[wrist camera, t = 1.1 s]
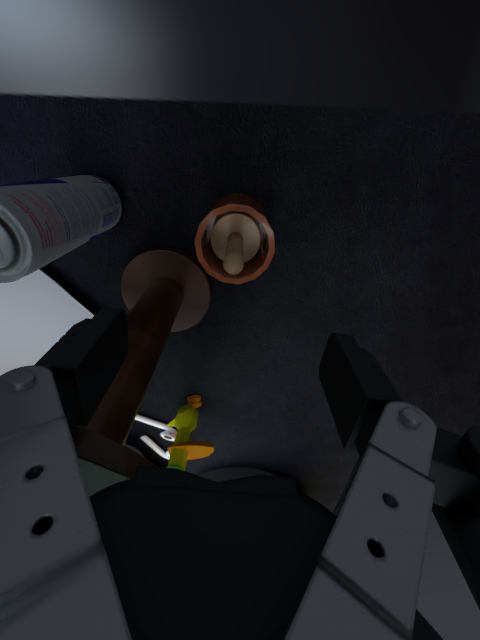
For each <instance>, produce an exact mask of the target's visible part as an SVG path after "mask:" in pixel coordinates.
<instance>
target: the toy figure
mask: <svg viewBox="0 0 480 640" xmlns="http://www.w3.org/2000/svg"><path fill="white" fill-rule="evenodd" d="M187 400H188V401H189V402H188V404H187V405H185V406H183V407H182V408H180V409H179V410H178V412H177V416H176V417H175V418H174V419H173V420H172V421H171V422H170V423H169V424H168V425H167V426H176V428H177V429H178V433H177V436H176V439H175V441H174V444H173V445H171V446H169V447H168V450H169V453H170V459H169V464H168V467H167V468H177V469H180V470H183V471H185V467H186V462H187V460H192V459H198V458H203V457H206V456H209V455H210V454H211V453H213V452H214V446H213V445H212V444H210V443H209V442H208V441H189V440H190V432H191V431H193V430H194V429H196V425H197V421H198V415H199V413H198V412H197V410H196V409H195V408H198V407H199V406H201V405H202V401H200V400H201V396H200V395H192V396H189V397H187ZM194 407H195V408H194Z"/></svg>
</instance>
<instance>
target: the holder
mask: <svg viewBox="0 0 480 640" xmlns="http://www.w3.org/2000/svg"><path fill="white" fill-rule="evenodd" d="M228 211H238V212H246V213H248V214H250V215H251V216H253V217H254V218H256V219H257V220H258V222H259V226H260V236H261V243H260V247H259V250H258V251H257V253H256V255H255V256H254V257H253V258H252V259H250V260H249V261H247V262H245V263H244V267H243V269H242V271H241V272H240V273H238V274H235V275H232V274H229V273H227V272H226V271H225V269H224V266H223V260H221V259H220V258H219V257H218V256H217V255H216V254H215V253H214V251H213V249H212V246H211V241H210V236H211V231H212V227H213V223H214V221H215V218H216V216H217V215H220V214H223V213H226V212H228ZM195 248H196V253H197V259H198V261H199V262H200V263H201V265H202V266H203V268H204V269H205V271H206V272H207V273H208V274H209V275H211V276H213V277H214V278H216V279H218V280H220V281H221V282H225V283H234V284H241V283H244V282H248V281H251V280H254V279H256V278H257V277H258V276H259V275H260V274H262V273H263V272H264V271H265V270H266V269H267V268H268V267H269V264H270V262H271V260H272V257H273V255H274V253H275V240H274V232H273V229H272V227H271V224H270V222H269V219H268V217H267V215H266V213H265V211H264V209H263V208H262V206H261V204H260V203H259V202H257V201H256V200H255V199H254V198H252V197H250V196H249V195H245V194H241V193H232V194H228V195H225V196H223V197H221V198H219V199H217V201H216V202H215V203H214V204H213V205H212V206H211V207H210V208H209V209H208V211H207V213H206V214H205V216H204V217H203V219H202V221H201V222H200V224H199V227H198V230H197V234H196V237H195Z"/></svg>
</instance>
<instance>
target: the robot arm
mask: <svg viewBox="0 0 480 640" xmlns="http://www.w3.org/2000/svg"><path fill="white" fill-rule="evenodd" d="M127 353H128V332H127V320H126V312H125V310H123V309H115V308H106V307H103V308H101V309H100V310H99V311H98V312H97V314H96V315H95V316H94V317H93V318H92V319H85V320H83V321H81V322H79V323H77V324H75V325H73V326H72V327H71V329H70V330H68V332H66V335H64V336H63V337H62V338H61V339H60V340H59V342H57V343H56V344H55V345H54V346H53V347H52V348H51V349H50V350H49V351H48V352H47V353H46V354H45V355H44V356H43V357H42V358H41V359H40V360H39V361H38V362H37V363H36V364H35V365H34V366H24V367H20V368H17V369H14V370H11V371H9V372H7V373H5V374H3V375H1V376H0V640H443V639H442V638H441V636H440V635H439V634H438V633H437V632H436V631H435V630H434V628H433V627H432V626H431V625H430V624H429V623H428V621H427V620H426V619H425V618H424V617H423V616H422V615H421V613H420V612H419V611H418V610H417V609H416V605H417V599H418V593H419V587H420V581H421V574H422V567H423V561H424V555H425V548H426V543H427V536H428V530H429V524H430V517H431V511H432V512H433V514H434V516H435V518H436V520H437V522H438V524H439V526H440V528H441V530H442V532H443V535H444V537H445V539H446V541H447V543H448V545H449V547H450V549H451V551H452V553H453V555H454V557H455V559H456V562H457V564H458V566H459V568H460V570H461V572H462V574H463V576H464V578H465V580H466V582H467V584H468V587H469V589H470V591H471V593H472V595H473V597H474V599H475V601H476V603H477V605H478V607H479V609H480V426H474V427H470V428H469V429H468V430H467V432H466V433H465V434H464V436H460V435H457V434H454V433H451V432H448V431H445V430H442V429H439V428H436V425H435V423H434V422H433V420H432V419H431V418H430V417H429V416H428V415H427V414H426V413H425V412H424V411H422V410H421V409H419V408H418V407H416V406H414V405H412V404H409V403H407V402H403V400H402V399H401V397H400V396H399V394H398V393H397V391H396V390H395V388H394V387H393V385H392V384H391V382H390V381H389V379H388V377H387V376H385V373H384V371H383V370H382V368H380V365H379V364H378V362H377V361H376V359H375V358H374V357H373V356H372V355H371V354H370V353H369V352H367V351H366V350H365V349H363V348H360V347H359V345H358V344H357V342H356V340H355V339H354V337H353V336H352V335H348V334H339V333H331V334H330V336H329V338H328V341H327V344H326V347H325V351H324V354H323V357H322V360H321V363H320V367H319V377H320V381H321V384H322V387H323V390H324V393H325V395H326V398H327V401H328V404H329V407H330V410H331V413H332V416H333V419H334V422H335V424H336V427H337V430H338V433H339V436H340V439H341V442H342V445H343V448H344V450H354V451H358V454H359V458H358V460H357V462H356V464H355V466H354V469H353V471H352V473H351V475H350V477H349V480H348V482H347V484H346V486H345V488H344V490H343V493H342V495H341V497H340V499H339V501H338V503H337V505H336V508H335V510H334V512H333V513H332V512H330V511H329V510H328V509H327V508H326V507H324V506H323V505H322V504H320V503H319V502H317V501H316V500H314V499H313V498H311V497H309V496H307V495H305V494H303V493H300V492H297V486H296V479H295V478H288V477H276V476H263V475H255V476H249V477H244V478H239V479H233V480H228V481H222V482H215V481H211V480H209V479H206V478H203V477H200V476H197V475H194V474H191V473H189V472H186V471H183V470H180V469H177V468H164V467H152V466H140V465H138V466H137V469H136V472H135V475H134V478H133V479H129V480H125V481H121V482H118V483H115V484H113V485H110V486H108V487H106V488H104V489H102V490H100V491H98V492H96V493H95V494H93V495H92V496H90V497H89V494H88V491H87V488H86V484H85V481H84V477H83V474H82V471H81V467H80V464H79V460H78V457H77V453H76V450H75V447H74V443H73V440H72V436H71V433H70V430H71V428H72V426H73V425H78V426H87V425H88V424H89V422H90V420H91V418H92V417H93V415H94V413H95V411H96V410H97V408H98V406H99V404H100V403H101V401H102V399H103V397H104V396H105V394H106V392H107V390H108V389H109V387H110V385H111V383H112V382H113V380H114V378H115V376H116V375H117V373H118V371H119V369H120V368H121V366H122V364H123V362H124V361H125V359H126V356H127Z"/></svg>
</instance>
